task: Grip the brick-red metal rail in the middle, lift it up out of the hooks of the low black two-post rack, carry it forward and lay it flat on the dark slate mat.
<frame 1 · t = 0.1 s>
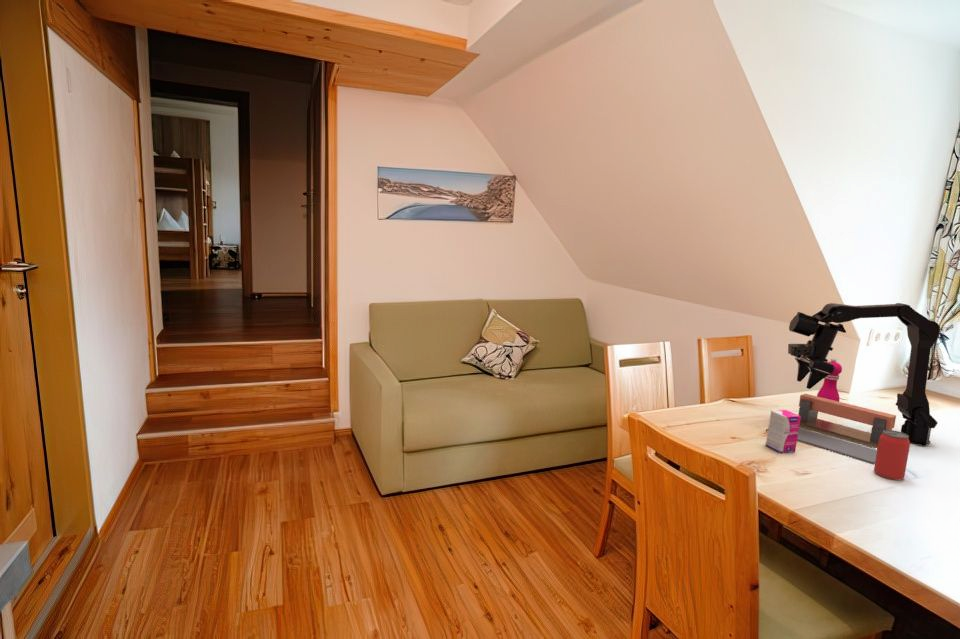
hand: (803, 384, 175), 15 cm above the table, tool pointing down, fingers open, 9 cm apart
pepper mill: (826, 409, 200), on the table
rail rack: (841, 433, 174), on the table
rail: (843, 416, 173), point 6 cm above the table, touching rail rack
beer can: (888, 476, 143), on the table
slate mat: (823, 442, 165), on the table
supplement box: (780, 449, 159), on the table
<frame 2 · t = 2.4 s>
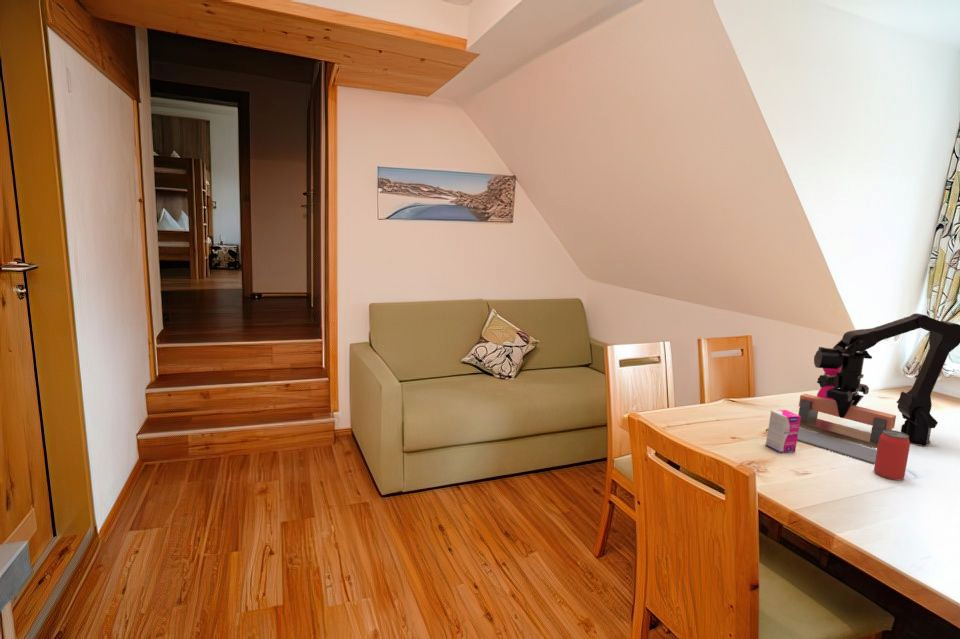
hand: (843, 416, 173), 6 cm above the table, tool pointing down, fingers closed on rail, 4 cm apart
rail: (843, 416, 173), point 6 cm above the table, touching gripper, rail rack
everything else where it was.
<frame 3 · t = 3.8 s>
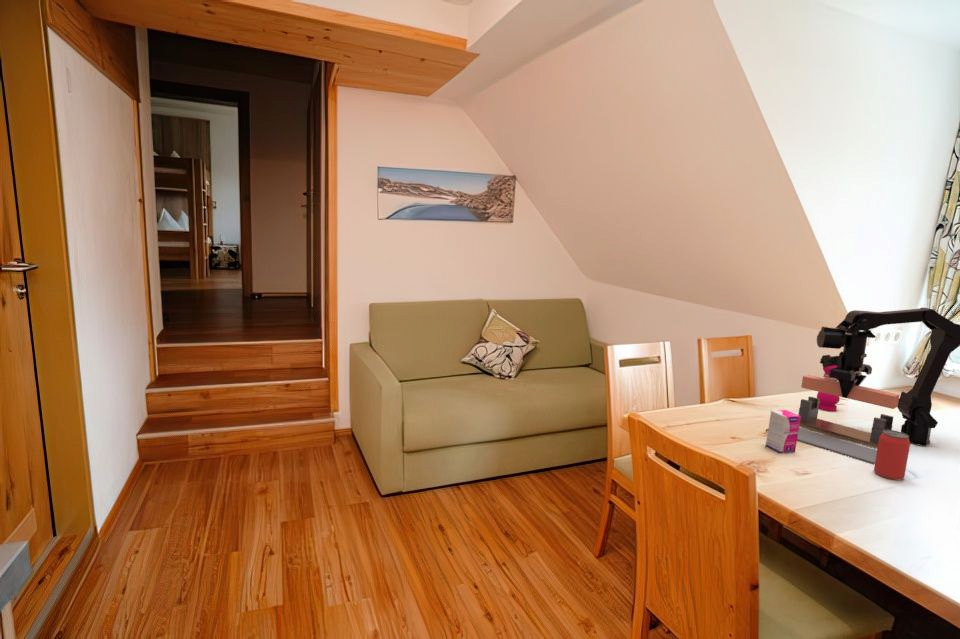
hand: (846, 396, 172), 13 cm above the table, tool pointing down, fingers closed on rail, 4 cm apart
rail: (846, 396, 172), point 13 cm above the table, touching gripper
everything else where it was.
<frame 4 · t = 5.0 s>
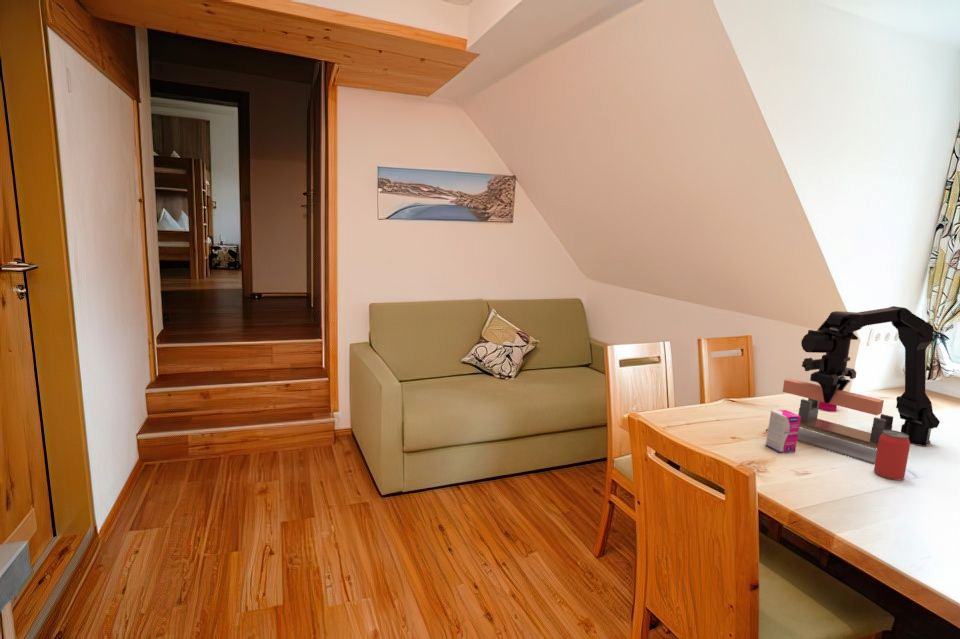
hand: (829, 402, 164), 13 cm above the table, tool pointing down, fingers closed on rail, 4 cm apart
rail: (829, 401, 164), point 13 cm above the table, touching gripper
everything else where it was.
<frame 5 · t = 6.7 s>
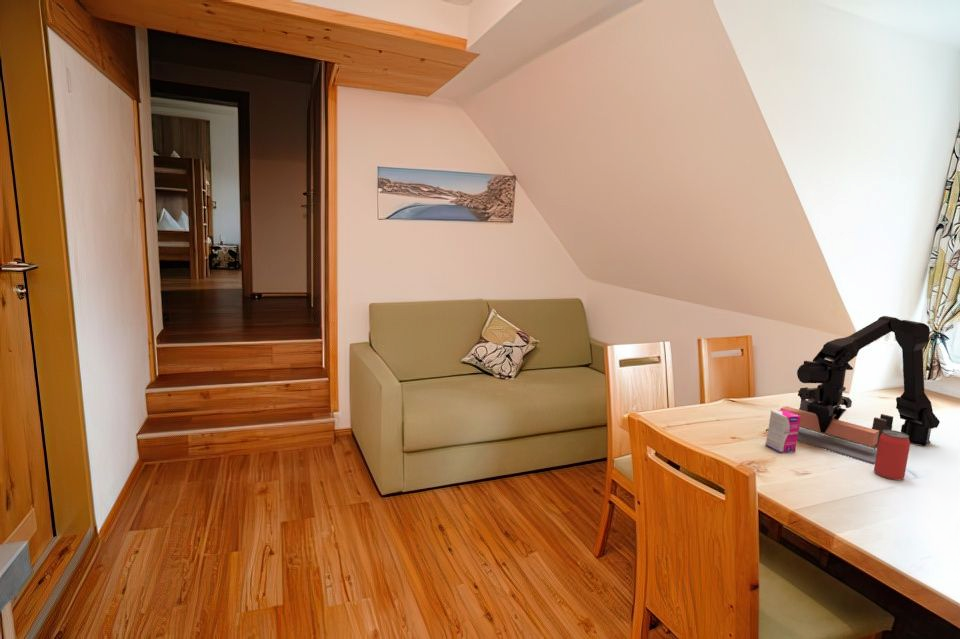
hand: (825, 431, 165), 4 cm above the table, tool pointing down, fingers closed on rail, 4 cm apart
rail: (825, 431, 165), point 4 cm above the table, touching gripper
everything else where it was.
when the fingers open (2 cm above the table, at t = 7.9 s): rail drops 1 cm, resting on slate mat.
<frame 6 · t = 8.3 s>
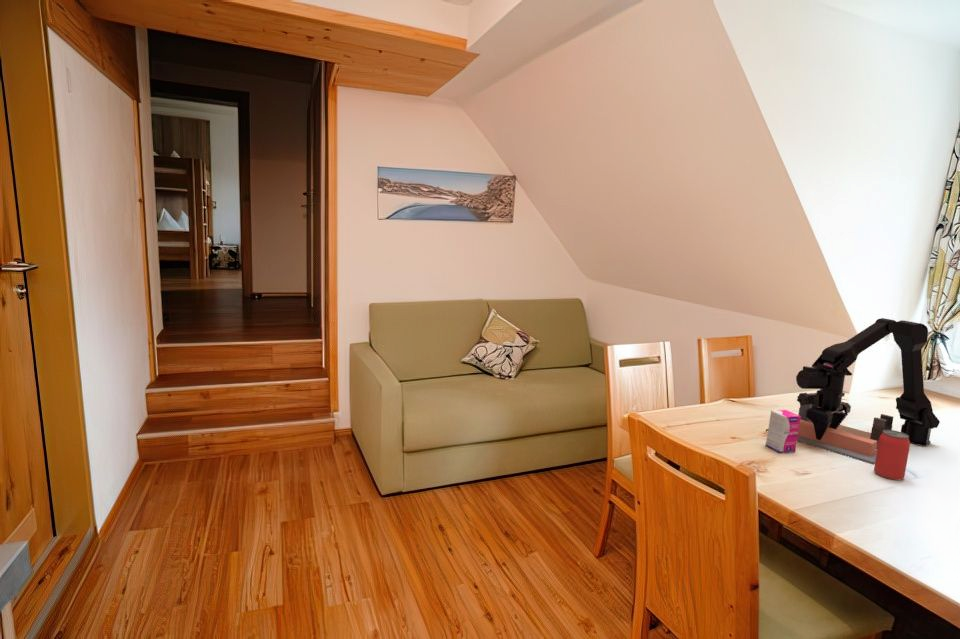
hand: (824, 436, 165), 2 cm above the table, tool pointing down, fingers open, 9 cm apart
rail: (823, 440, 165), point 1 cm above the table, touching slate mat
everything else where it was.
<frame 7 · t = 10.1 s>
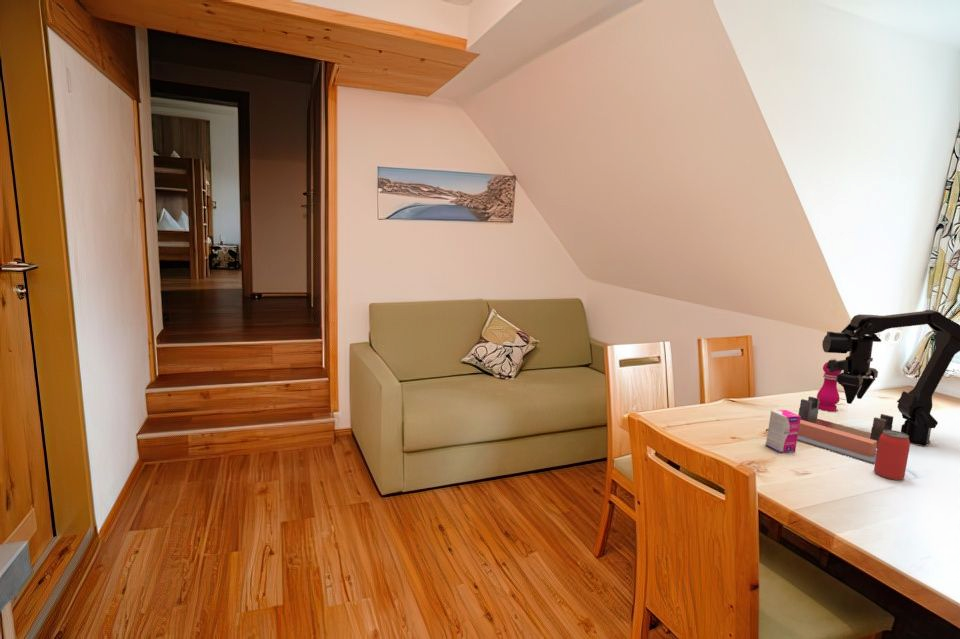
hand: (854, 401, 171), 12 cm above the table, tool pointing down, fingers open, 9 cm apart
nothing on the table moved.
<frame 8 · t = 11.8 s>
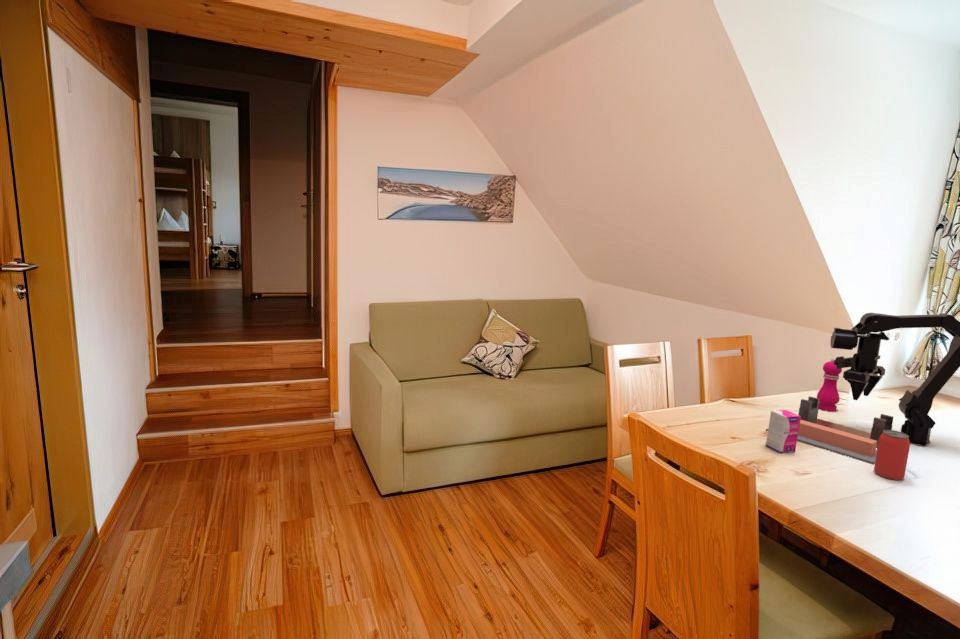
hand: (860, 397, 174), 12 cm above the table, tool pointing down, fingers open, 9 cm apart
nothing on the table moved.
at the end: rail inside the target area on the slate mat (0.1 cm from its centre), point 0.6 cm above the slate mat's base; rail tilted 0°; the gripper is holding nothing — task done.
